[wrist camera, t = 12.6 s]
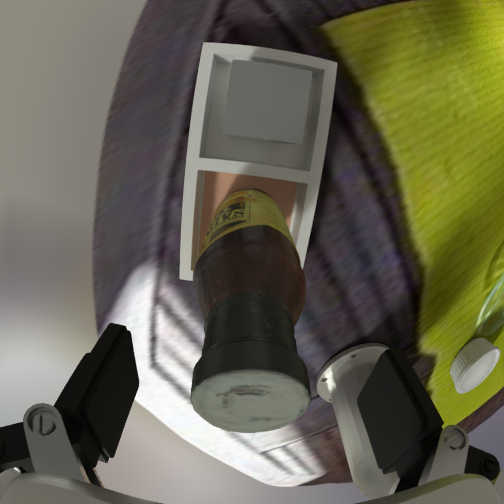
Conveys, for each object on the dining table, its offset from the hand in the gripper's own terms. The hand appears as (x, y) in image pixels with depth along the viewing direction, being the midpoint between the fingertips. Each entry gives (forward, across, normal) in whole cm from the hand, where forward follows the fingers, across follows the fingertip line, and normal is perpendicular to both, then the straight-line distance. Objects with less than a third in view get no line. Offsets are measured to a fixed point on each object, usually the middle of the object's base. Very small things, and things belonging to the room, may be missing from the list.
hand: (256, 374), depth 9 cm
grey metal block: (+18, +1, -11) cm, 21 cm away
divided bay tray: (+19, +1, -6) cm, 20 cm away
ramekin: (+21, -44, +19) cm, 53 cm away
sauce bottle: (+19, 0, -1) cm, 19 cm away
